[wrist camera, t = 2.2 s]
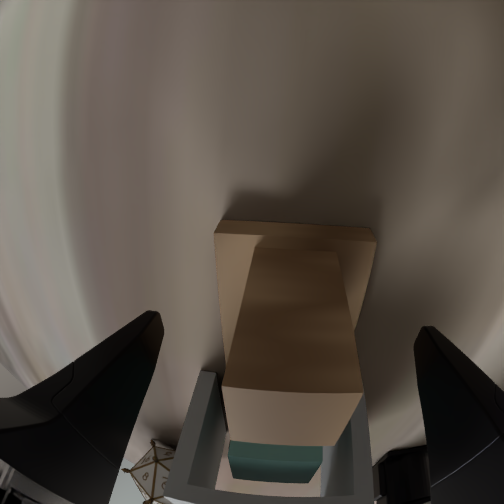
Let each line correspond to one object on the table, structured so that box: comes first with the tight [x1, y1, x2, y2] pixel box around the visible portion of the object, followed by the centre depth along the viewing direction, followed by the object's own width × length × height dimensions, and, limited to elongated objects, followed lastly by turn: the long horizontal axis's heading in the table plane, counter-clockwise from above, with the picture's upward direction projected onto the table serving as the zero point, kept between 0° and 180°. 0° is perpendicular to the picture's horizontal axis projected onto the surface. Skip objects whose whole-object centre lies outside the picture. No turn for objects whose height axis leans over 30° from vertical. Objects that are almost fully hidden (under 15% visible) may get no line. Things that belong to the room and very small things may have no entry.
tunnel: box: [163, 371, 374, 504], centre depth 15 cm, size 10×9×8 cm
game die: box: [122, 440, 176, 504], centre depth 22 cm, size 9×8×10 cm
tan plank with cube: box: [214, 220, 377, 446], centre depth 12 cm, size 6×16×7 cm, turn 0°
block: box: [228, 440, 323, 483], centre depth 14 cm, size 4×4×4 cm
